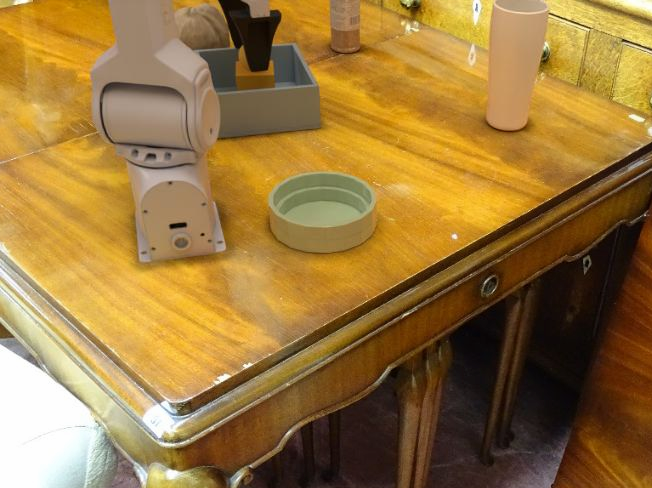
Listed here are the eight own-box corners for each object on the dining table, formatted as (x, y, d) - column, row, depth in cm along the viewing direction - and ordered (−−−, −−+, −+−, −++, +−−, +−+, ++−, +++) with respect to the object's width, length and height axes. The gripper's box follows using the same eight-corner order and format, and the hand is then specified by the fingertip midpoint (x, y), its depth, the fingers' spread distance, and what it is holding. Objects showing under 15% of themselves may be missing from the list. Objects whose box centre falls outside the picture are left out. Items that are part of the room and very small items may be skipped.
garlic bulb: (229, 79, 112) (246, 10, 107) (215, 93, 104) (233, 20, 100) (164, 54, 110) (179, -16, 105) (146, 68, 103) (161, -8, 98)
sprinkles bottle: (350, 41, 119) (348, -53, 110) (366, 50, 116) (366, -45, 107) (324, 46, 117) (321, -49, 108) (340, 56, 114) (338, -41, 105)
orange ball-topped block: (275, 97, 101) (270, 34, 95) (277, 113, 97) (272, 48, 92) (239, 98, 100) (232, 35, 95) (239, 114, 96) (232, 49, 91)
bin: (320, 128, 96) (319, 85, 92) (212, 139, 92) (206, 95, 89) (298, 82, 106) (295, 42, 102) (199, 91, 102) (193, 50, 99)
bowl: (389, 248, 76) (389, 218, 74) (281, 264, 73) (278, 233, 71) (361, 194, 84) (361, 166, 82) (262, 207, 81) (259, 177, 79)
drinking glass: (539, 133, 97) (558, 12, 88) (488, 136, 96) (501, 14, 87) (523, 110, 102) (539, -7, 93) (474, 113, 101) (485, -6, 92)
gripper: (190, -76, 89) (205, 41, 98) (217, -42, 79) (232, 85, 88) (250, -79, 92) (260, 35, 101) (284, -46, 82) (292, 78, 91)
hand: (251, 58), depth 94 cm, fingers open, 7 cm apart
